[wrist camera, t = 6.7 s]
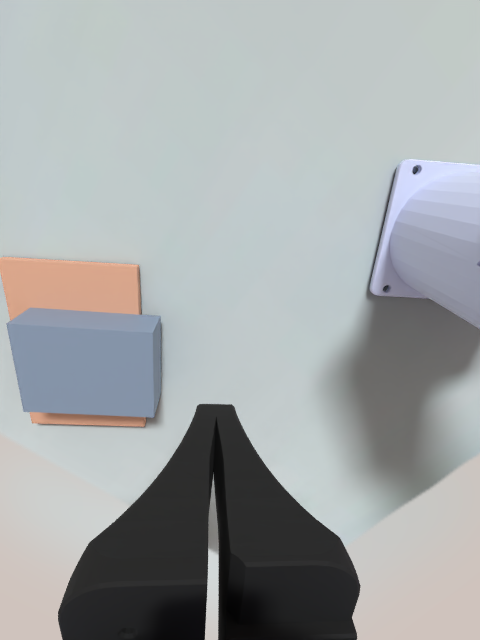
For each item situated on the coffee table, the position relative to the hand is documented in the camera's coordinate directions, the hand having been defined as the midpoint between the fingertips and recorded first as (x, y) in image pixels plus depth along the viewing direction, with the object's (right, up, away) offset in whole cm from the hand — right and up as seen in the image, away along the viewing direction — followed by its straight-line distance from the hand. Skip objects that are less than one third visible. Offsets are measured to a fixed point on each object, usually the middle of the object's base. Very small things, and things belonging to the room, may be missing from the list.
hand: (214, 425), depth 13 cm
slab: (-4, +1, +9) cm, 10 cm away
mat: (-10, +2, +10) cm, 14 cm away
